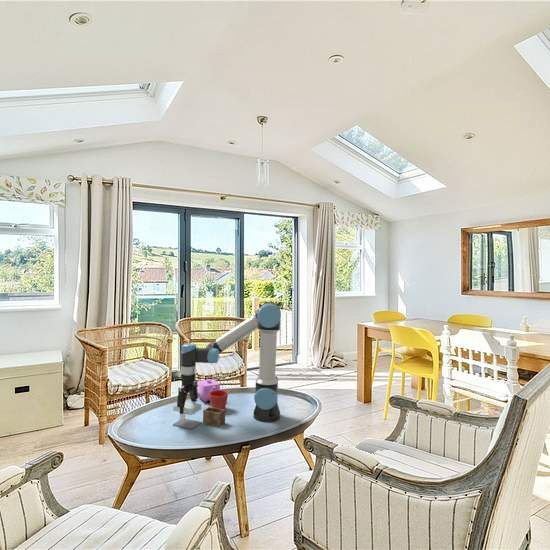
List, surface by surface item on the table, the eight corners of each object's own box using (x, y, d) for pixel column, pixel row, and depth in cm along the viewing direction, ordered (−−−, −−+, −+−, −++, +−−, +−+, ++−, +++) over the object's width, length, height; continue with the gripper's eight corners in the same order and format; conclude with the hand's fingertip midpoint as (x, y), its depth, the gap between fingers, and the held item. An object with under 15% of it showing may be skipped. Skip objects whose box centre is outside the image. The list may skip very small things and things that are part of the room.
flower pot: (224, 413, 211) (224, 396, 211) (206, 412, 213) (206, 395, 213) (230, 407, 221) (230, 390, 221) (212, 405, 223) (213, 389, 223)
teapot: (196, 396, 239) (197, 377, 239) (211, 394, 243) (212, 375, 243) (206, 406, 221) (206, 385, 221) (222, 404, 226) (222, 383, 226)
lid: (201, 411, 197) (201, 404, 197) (192, 417, 190) (192, 409, 189) (182, 408, 201) (182, 401, 201) (173, 413, 194) (173, 405, 194)
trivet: (201, 423, 197) (201, 421, 197) (192, 429, 189) (192, 428, 189) (183, 419, 202) (183, 418, 202) (172, 425, 194) (172, 424, 194)
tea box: (225, 422, 198) (225, 409, 198) (219, 426, 193) (219, 413, 193) (209, 419, 202) (209, 406, 202) (202, 423, 197) (203, 410, 197)
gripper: (193, 368, 206) (192, 408, 207) (169, 377, 187) (168, 422, 187) (205, 369, 204) (204, 410, 204) (182, 379, 184) (181, 425, 184)
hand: (187, 416), depth 195 cm, fingers closed on lid, 8 cm apart
